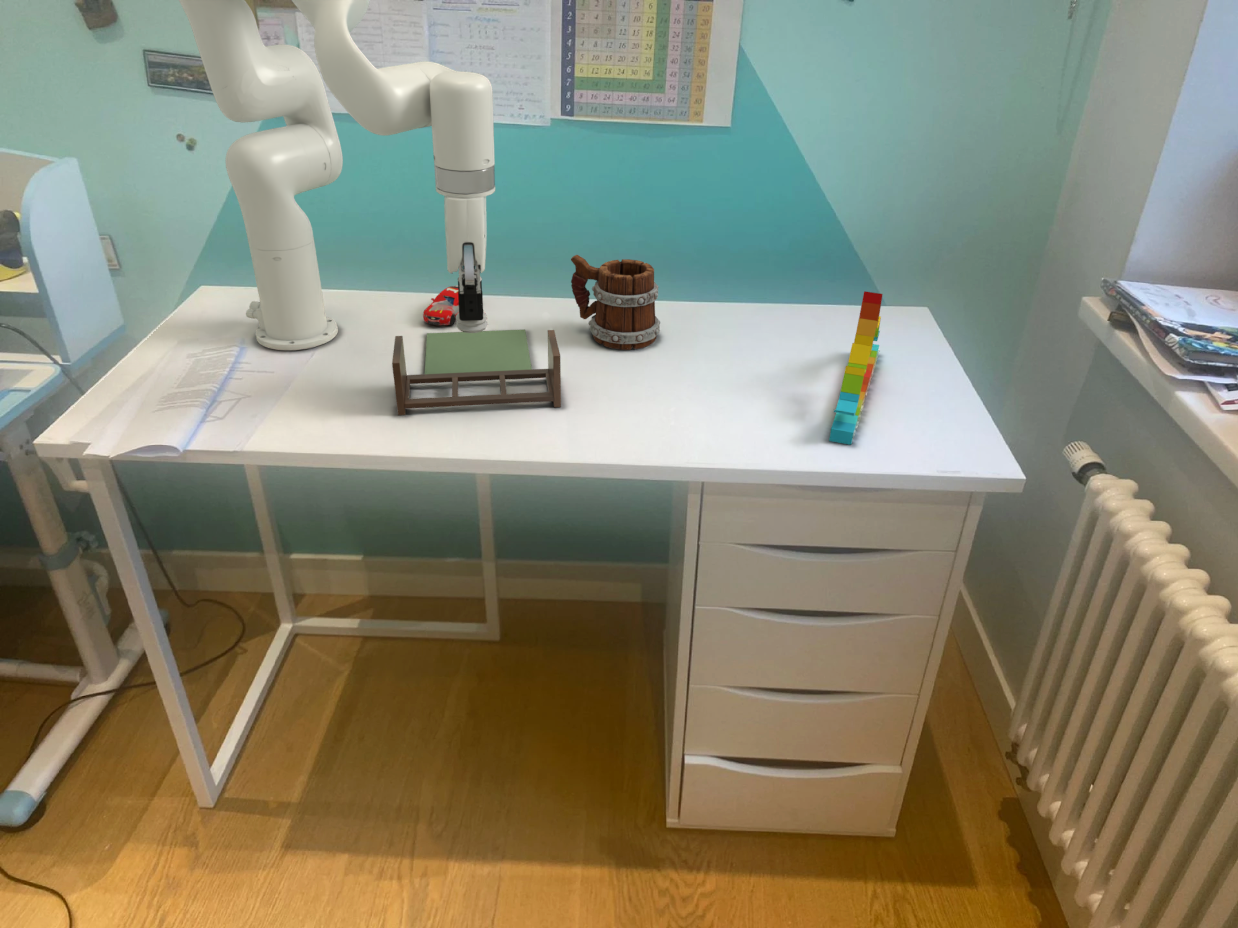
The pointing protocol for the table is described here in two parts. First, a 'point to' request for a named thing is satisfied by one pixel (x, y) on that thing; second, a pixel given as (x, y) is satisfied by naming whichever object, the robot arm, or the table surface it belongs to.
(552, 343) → the rack
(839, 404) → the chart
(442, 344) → the mat
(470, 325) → the rook chess piece
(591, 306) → the mug
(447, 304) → the race car
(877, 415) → the table surface
